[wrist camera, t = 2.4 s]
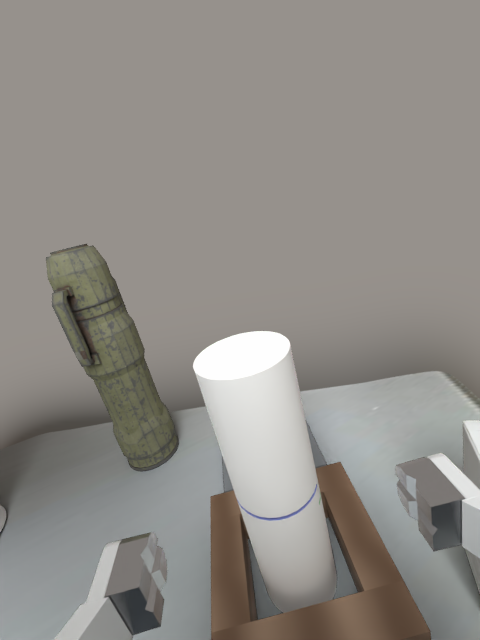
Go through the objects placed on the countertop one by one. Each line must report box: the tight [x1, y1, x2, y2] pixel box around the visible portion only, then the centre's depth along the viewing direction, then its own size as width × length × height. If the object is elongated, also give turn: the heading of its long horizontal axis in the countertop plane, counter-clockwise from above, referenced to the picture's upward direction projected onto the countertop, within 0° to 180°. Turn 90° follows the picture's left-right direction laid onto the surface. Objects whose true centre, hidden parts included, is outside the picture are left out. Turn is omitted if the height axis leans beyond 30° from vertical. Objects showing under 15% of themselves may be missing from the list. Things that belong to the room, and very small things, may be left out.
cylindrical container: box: [193, 331, 337, 613], centre depth 27 cm, size 7×7×25 cm
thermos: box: [46, 244, 179, 471], centre depth 47 cm, size 9×12×35 cm
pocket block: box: [211, 462, 431, 640], centre depth 30 cm, size 16×16×4 cm
